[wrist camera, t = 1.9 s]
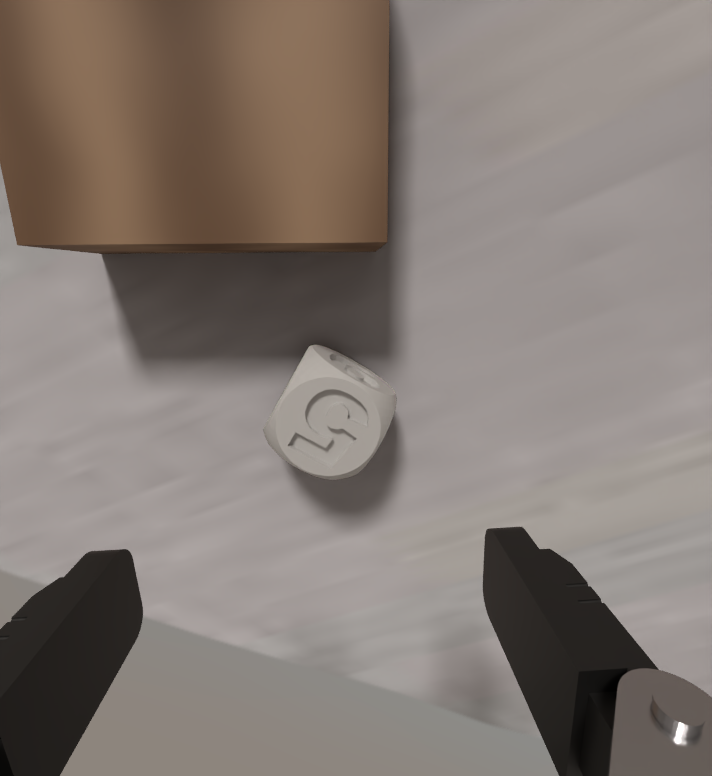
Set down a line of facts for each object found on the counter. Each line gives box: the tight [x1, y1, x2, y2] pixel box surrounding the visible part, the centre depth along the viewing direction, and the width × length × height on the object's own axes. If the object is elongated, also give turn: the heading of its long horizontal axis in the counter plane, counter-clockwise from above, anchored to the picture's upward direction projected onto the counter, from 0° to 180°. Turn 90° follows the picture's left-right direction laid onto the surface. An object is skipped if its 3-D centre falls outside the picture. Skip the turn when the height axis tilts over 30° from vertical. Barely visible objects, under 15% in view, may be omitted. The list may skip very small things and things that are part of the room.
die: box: [263, 345, 397, 480], centre depth 21 cm, size 5×5×5 cm
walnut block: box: [0, 0, 389, 254], centre depth 17 cm, size 14×14×6 cm
